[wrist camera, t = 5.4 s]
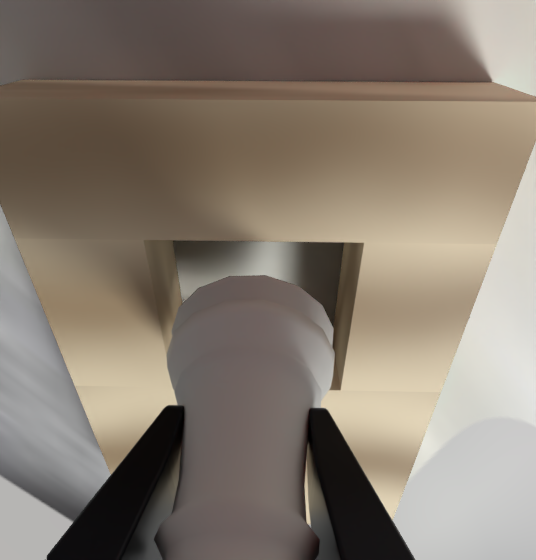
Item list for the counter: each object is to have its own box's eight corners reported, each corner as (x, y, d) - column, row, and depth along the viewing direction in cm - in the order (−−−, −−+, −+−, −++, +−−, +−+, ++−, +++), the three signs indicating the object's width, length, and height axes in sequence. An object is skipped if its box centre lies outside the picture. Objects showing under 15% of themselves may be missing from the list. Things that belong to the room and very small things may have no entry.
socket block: (378, 473, 20) (390, 526, 18) (144, 468, 20) (129, 520, 18) (494, 82, 10) (550, 101, 8) (21, 79, 10) (-43, 98, 8)
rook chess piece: (151, 347, 12) (-12, 779, 5) (220, 233, 10) (95, 730, 3) (278, 400, 13) (278, 802, 6) (365, 311, 11) (501, 781, 4)
